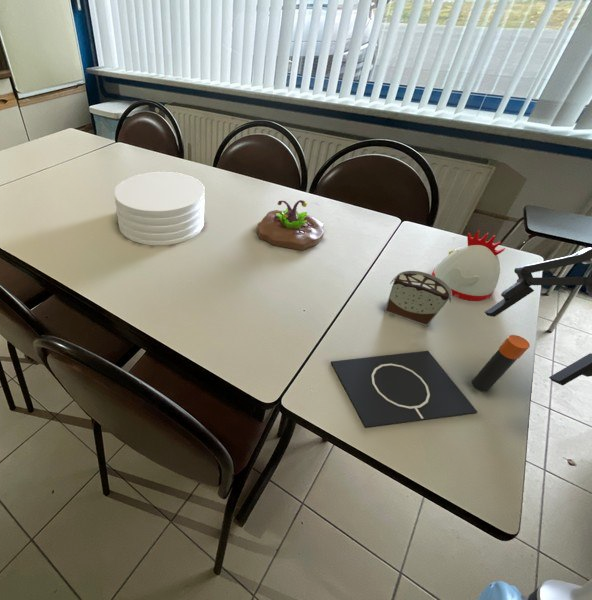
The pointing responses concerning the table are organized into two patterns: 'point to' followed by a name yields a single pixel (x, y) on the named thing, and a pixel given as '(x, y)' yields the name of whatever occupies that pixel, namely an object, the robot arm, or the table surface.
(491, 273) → the kitchen timer
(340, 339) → the table surface
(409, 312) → the food container
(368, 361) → the desk mat
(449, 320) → the table surface
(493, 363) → the marker
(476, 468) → the table surface
